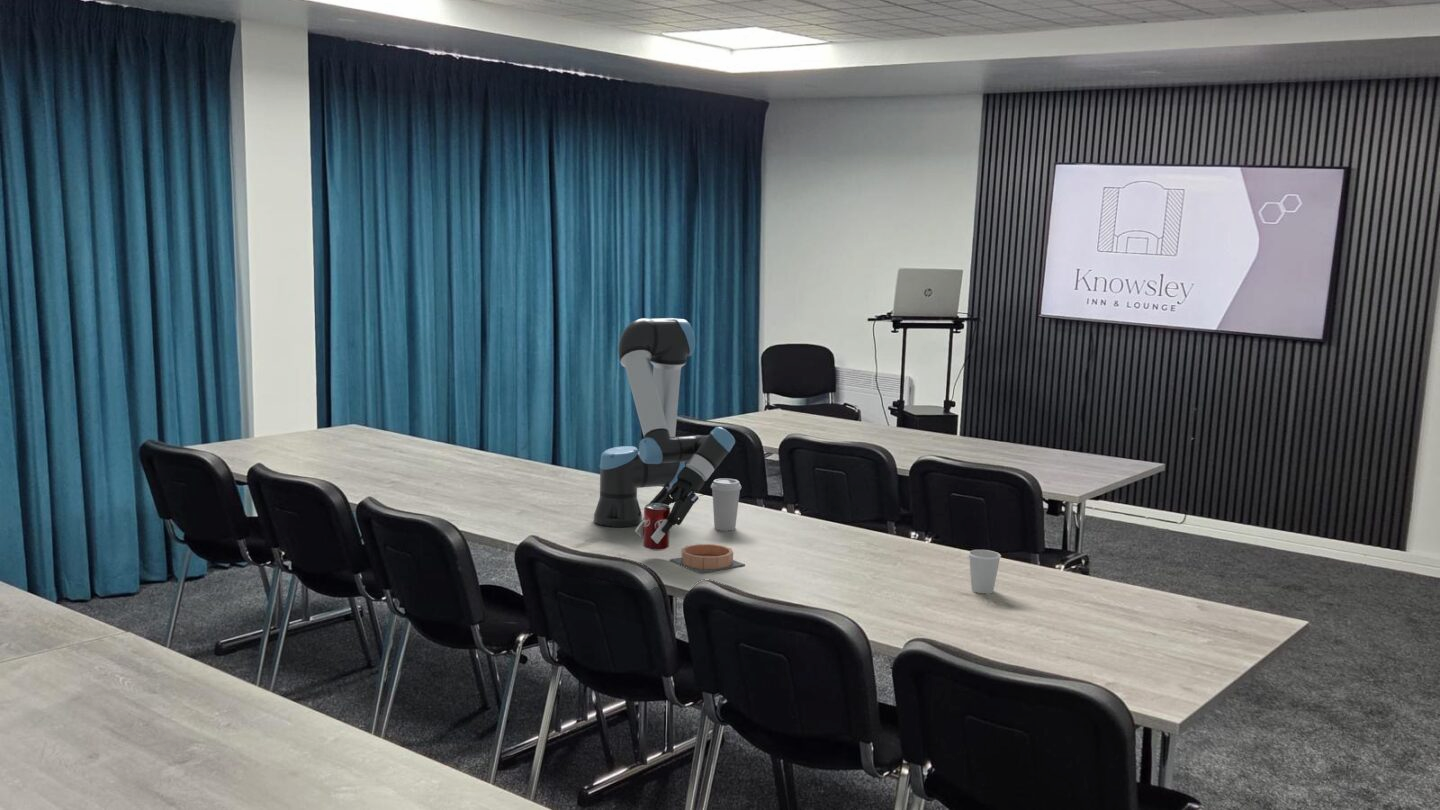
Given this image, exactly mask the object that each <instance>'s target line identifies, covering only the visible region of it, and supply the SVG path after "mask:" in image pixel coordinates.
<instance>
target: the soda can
mask: <svg viewBox="0 0 1440 810" xmlns="http://www.w3.org/2000/svg"><path fill="white" fill-rule="evenodd" d="M670 512H671V507H670V505H666V504H660V503H652V504H649V503H648V504H646V505H645V506H644V508H643V518H644V531H643V536H642V537H643V538H642V546H643V547H644V549H645V550H647V551H652V552H661V551H665V550H667V549H668V548H669V547H670V530H671V529H670V530H669V531H668V532H667V533H666V534H665V535H664V536H663V538H662V539H661V540H660V542H659V543H658V544H657V543H656V542H655V541H654V540H653V539H652V538H651V536H652V535H653V534H654V532H655V531H656V530H657V529H658V527H659V526H660V525H661V523H662V522H663V521H664V520H665V519H666V517H669V515H670ZM666 520H667V519H666ZM667 521H668V520H667Z"/></svg>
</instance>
